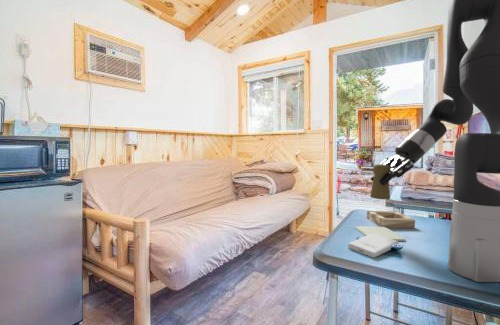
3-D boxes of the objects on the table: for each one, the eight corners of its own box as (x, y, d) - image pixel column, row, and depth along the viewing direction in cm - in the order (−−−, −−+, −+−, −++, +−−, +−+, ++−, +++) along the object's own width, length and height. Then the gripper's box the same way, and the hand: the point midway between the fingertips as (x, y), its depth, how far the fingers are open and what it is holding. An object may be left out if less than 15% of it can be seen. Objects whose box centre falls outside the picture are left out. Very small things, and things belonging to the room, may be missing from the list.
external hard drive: (398, 246, 77) (374, 258, 70) (371, 237, 83) (347, 247, 76) (398, 241, 76) (374, 252, 70) (372, 232, 83) (347, 242, 76)
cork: (393, 199, 85) (396, 165, 84) (375, 199, 85) (376, 165, 84) (384, 195, 91) (386, 164, 90) (366, 195, 91) (368, 163, 90)
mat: (405, 241, 83) (405, 239, 83) (371, 240, 83) (371, 238, 83) (385, 228, 95) (385, 226, 95) (355, 228, 95) (355, 226, 94)
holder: (414, 228, 96) (415, 219, 96) (382, 227, 96) (382, 219, 96) (395, 218, 108) (396, 211, 108) (366, 218, 108) (367, 210, 108)
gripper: (394, 138, 94) (359, 171, 94) (422, 138, 79) (380, 177, 80) (408, 153, 94) (373, 186, 95) (438, 155, 80) (396, 194, 80)
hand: (376, 182), depth 87 cm, fingers closed on cork, 5 cm apart
